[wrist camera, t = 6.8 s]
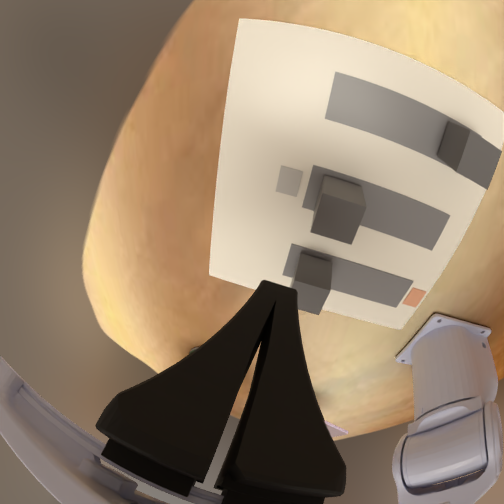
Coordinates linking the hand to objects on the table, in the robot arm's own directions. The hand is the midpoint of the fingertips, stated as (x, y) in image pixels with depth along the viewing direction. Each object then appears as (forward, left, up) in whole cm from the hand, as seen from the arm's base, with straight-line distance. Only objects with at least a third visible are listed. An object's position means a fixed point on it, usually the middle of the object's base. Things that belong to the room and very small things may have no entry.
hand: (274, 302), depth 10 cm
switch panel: (-3, -1, -10) cm, 11 cm away
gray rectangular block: (-2, -1, -8) cm, 9 cm away
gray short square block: (-2, +5, -8) cm, 10 cm away
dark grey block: (-8, -7, -9) cm, 14 cm away
